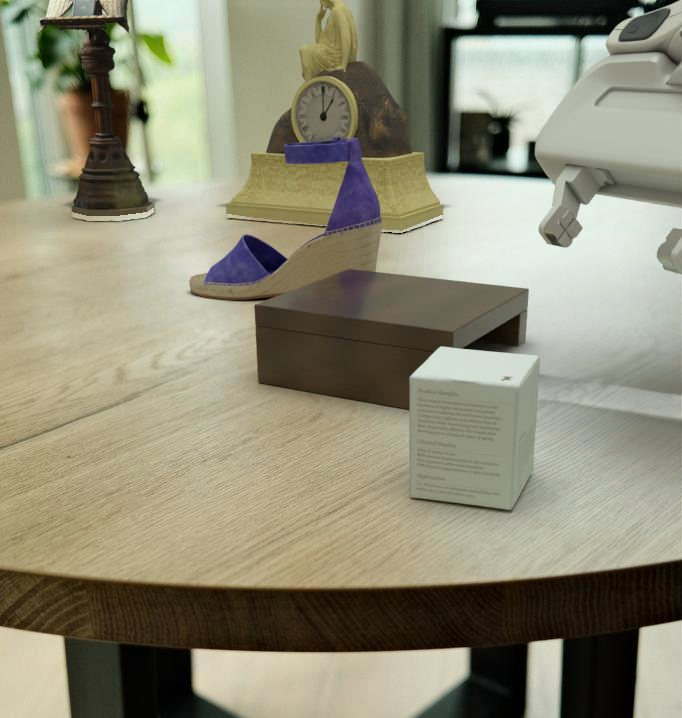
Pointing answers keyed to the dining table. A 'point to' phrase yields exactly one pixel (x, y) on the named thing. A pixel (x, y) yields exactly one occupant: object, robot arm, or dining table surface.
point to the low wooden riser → (377, 331)
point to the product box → (472, 426)
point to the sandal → (318, 256)
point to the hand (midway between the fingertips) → (607, 252)
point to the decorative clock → (345, 120)
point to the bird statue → (101, 112)
